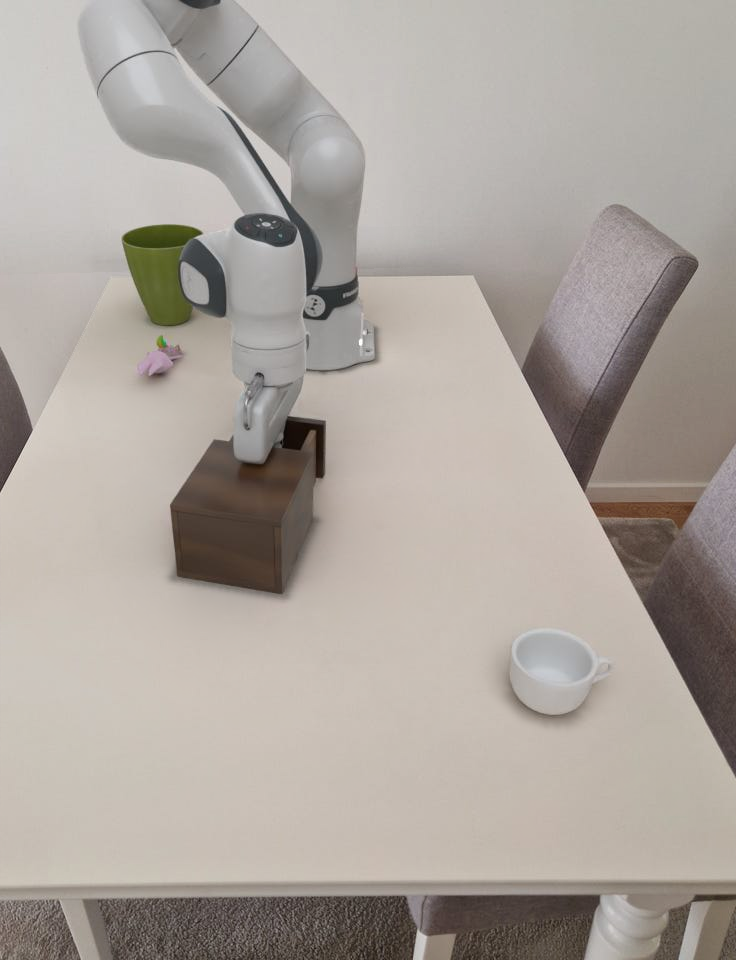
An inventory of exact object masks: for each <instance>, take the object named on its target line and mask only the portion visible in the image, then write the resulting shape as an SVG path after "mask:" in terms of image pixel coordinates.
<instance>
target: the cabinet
mask: <svg viewBox="0 0 736 960" xmlns="http://www.w3.org/2000/svg"><path fill="white" fill-rule="evenodd" d="M169 509H170V519H171V520H170V521H171V529H172V539H173V548H174V558H175V567H176V568H175V569H176V576H177V577H180V578H187V579H192V580H197V581H198V580H199V581H204V582H210V583H215V584H220V585H225V586H233V587H239V588H245V589H250V590H256V591H263V592H268V593H274V594H279V595H280V594H281V595H282V594H283V593H284V590H285V588H286V585H287V583H288V581H289V579H290V577H291V574H292V571H293V569H294V566H295V565H296V562H297V560H298V557H299V555H300V553H301V549H302V547H303V545H304V543H305V541H306V537H307V535H308V533H309V531H310V528H311V527H312V523H313V521H314V487H313V452H308V451H301V450H293V449H285V448H278V447H272V449H271V451H270V453H269V455H268V457H267V459H266V461H265V462H264V463H263V464H251V463H244V462H239V461H237V460H236V458H235V456H234V442H231V441H229V440H223V439H222V440H221V439H216V438H214V439H213V440H212V442H211V443H210V445H209V446H208V447H207V449H206V451H204V454H203V455H202V456H201V458H200V459H199V460H198V462H197V464H196V465H195V466H194V468H193V470H192V471H191V472H190V474H189V476H188V477H187V479H185V481H184V483H183V485H182V486H181V487H180V489H179V491H178V492H177V493H176V495H175V496H174V498H173V499H172V501H171V502H170V504H169Z"/></svg>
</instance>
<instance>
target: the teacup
mask: <svg viewBox="0 0 736 960" xmlns="http://www.w3.org/2000/svg"><path fill="white" fill-rule="evenodd" d="M602 665H608V667H607V669H605V670H604V671H603V672H601V673H598V674H597V671H598V669H599V668H600V667H601V666H602ZM508 669H509V680H510V684H511V687H512V690H513V692H514V694H515V695H516V697H517V698H518V699H519V700H520V702H522V703H523V704H524V705H525V706H526V707H527V708H529V709H531V710H533V711H535V712H537V713H540V714H544V715H549V716H559V715H565V714H568V713H570V712H573V711H574V710H576V709H577V708H579V707H580V706H581V705H582V703H583V702H584V700H585V699H586V697H587V696H588V694H589V692H590V690H591V688H592V686H593V684H596V683H598V682H600V681H603V680H604V679H607V678H608V677H610V676H611V675H612V674H613V672H614V670H615V665H614V663H613V661H612V660H611V659H610V658H608V657H604V656H603V657H602V656H601V657H600V656H599V657H598V656H597V654H596V652H595V650H594V648H592V646H591V645H590V644H589V643H588V642H587V641H585V640H584V639H582V638H581V637H580V636H578V635H576V634H574V633H572V632H569V631H566V630H563V629H559V628H553V627H538V628H532V629H528V630H526V631H524V632H522V633H520V634H519V635H518V636H517V637H516V638H515V639H514V641H513V643H512V644H511V650H510V656H509V668H508Z"/></svg>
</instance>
